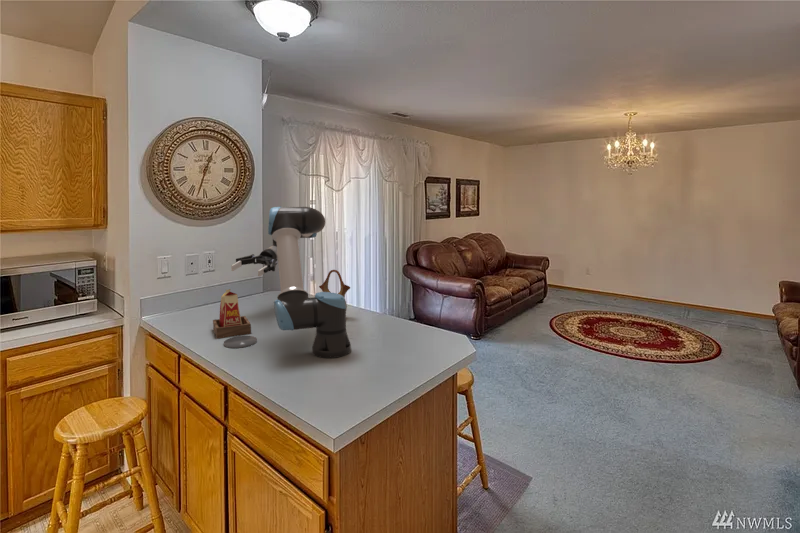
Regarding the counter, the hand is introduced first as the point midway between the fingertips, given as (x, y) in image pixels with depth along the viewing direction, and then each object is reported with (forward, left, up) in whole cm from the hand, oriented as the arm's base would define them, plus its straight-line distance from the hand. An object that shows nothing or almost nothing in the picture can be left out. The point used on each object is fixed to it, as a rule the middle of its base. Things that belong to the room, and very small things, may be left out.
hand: (245, 270), depth 190 cm
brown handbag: (-5, -41, -27) cm, 49 cm away
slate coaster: (-19, +6, -27) cm, 34 cm away
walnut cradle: (-2, +7, -27) cm, 28 cm away
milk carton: (-1, +8, -27) cm, 28 cm away
